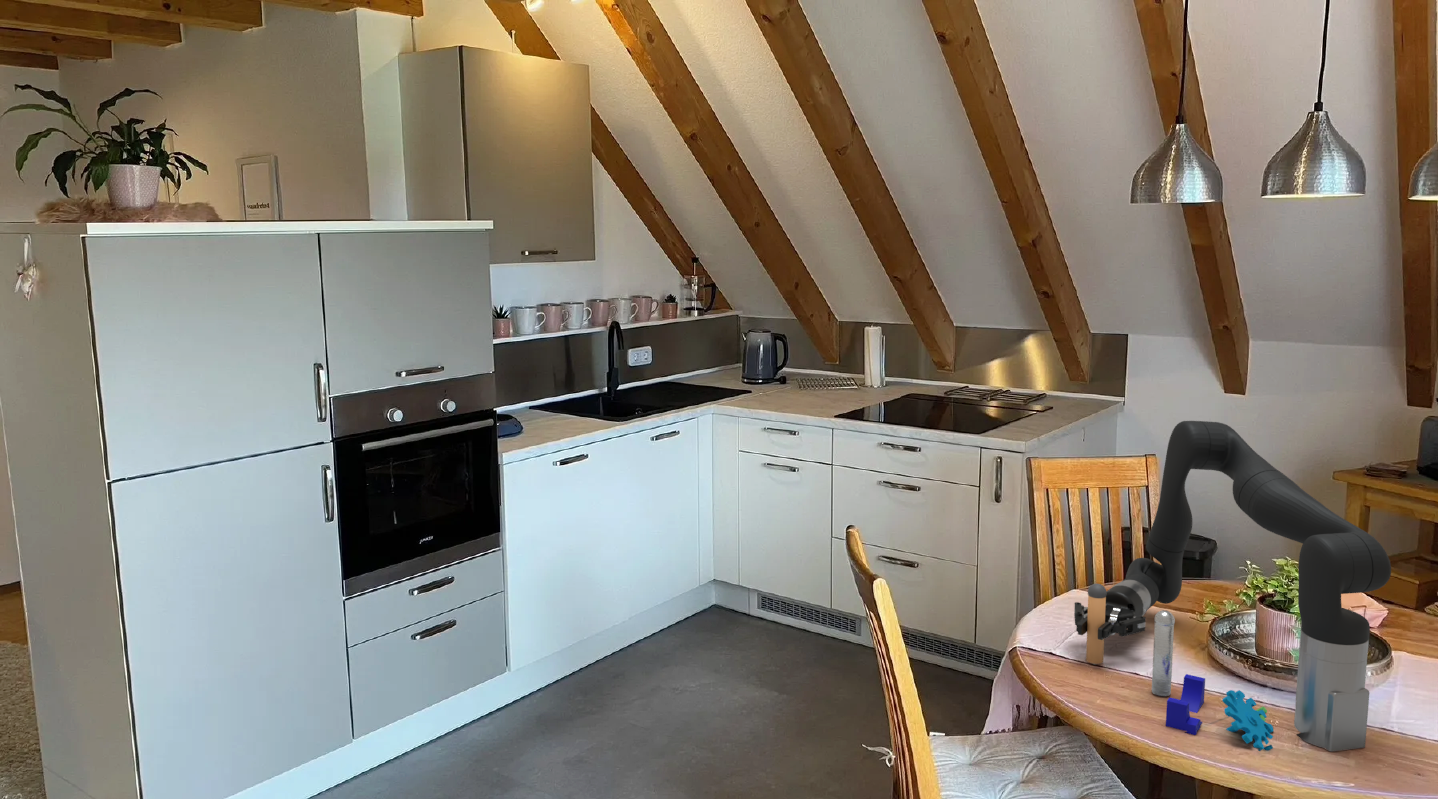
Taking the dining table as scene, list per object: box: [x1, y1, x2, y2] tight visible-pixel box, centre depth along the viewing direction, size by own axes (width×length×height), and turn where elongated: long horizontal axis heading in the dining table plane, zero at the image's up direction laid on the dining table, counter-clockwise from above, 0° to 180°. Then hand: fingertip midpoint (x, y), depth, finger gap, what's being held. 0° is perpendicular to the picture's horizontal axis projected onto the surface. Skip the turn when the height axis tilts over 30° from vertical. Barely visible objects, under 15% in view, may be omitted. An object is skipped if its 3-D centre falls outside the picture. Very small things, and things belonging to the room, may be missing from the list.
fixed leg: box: [1151, 609, 1176, 697], centre depth 180 cm, size 3×3×15 cm
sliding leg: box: [1085, 583, 1107, 666], centre depth 193 cm, size 3×3×15 cm
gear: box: [1221, 689, 1274, 752], centre depth 168 cm, size 11×6×10 cm
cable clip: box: [1165, 673, 1206, 736], centre depth 174 cm, size 12×4×6 cm, turn 143°
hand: (1090, 632), depth 191 cm, fingers closed on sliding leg, 3 cm apart
